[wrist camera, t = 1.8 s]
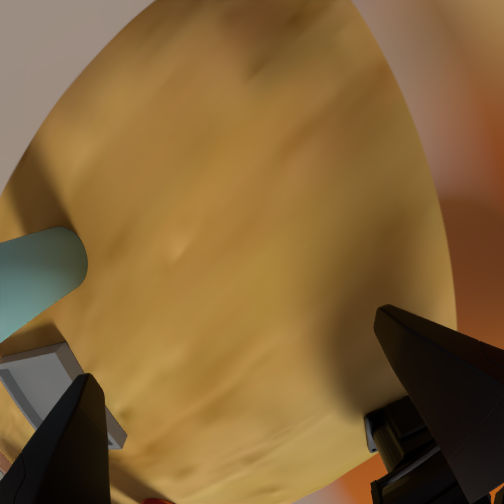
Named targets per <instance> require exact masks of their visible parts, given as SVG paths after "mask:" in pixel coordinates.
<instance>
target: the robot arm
mask: <svg viewBox="0 0 504 504" xmlns="http://www.w3.org/2000/svg"><path fill="white" fill-rule="evenodd" d="M374 332H375V335H376V337H377V339H378V341H379V343H380V345H381V347H382V349H383V351H384V353H385V355H386V357H387V359H388V361H389V363H390V365H391V367H392V369H393V370H394V372H395V374H396V375H397V377H398V379H399V380H400V382H401V383H402V385H403V387H404V388H405V390H406V391H407V393H408V395H409V396H407V397H405V398H403V399H401V400H399V401H397V402H394V403H392V404H390V405H388V406H385V407H383V408H381V409H378V410H376V411H374V412H371V413H369V414H367V415H366V416H365V418H364V419H365V426H366V434H367V441H368V449H369V451H370V453H374V452H376V451H378V452H379V454H380V456H381V458H382V460H383V463H384V465H385V467H386V469H387V471H388V474H386V475H385V476H383V477H381V478H380V479H378V480H375V481H373V482H371V483H370V484H371V489H372V490H371V494H372V500H373V504H491V495H490V494H489V492H490V491H492V490H494V489H495V488H497V487H498V486H500V485H501V484H502V483H504V350H503V349H500V348H497V347H495V346H492V345H489V344H487V343H484V342H482V341H479V340H477V339H474V338H472V337H470V336H467V335H464V334H462V333H460V332H457V331H455V330H452V329H450V328H447V327H445V326H442V325H440V324H437V323H435V322H433V321H430V320H428V319H425V318H423V317H420V316H418V315H415V314H413V313H410V312H408V311H405V310H403V309H400V308H398V307H395V306H393V305H390V304H386V305H384V306H381V307H379V308H378V309H377V311H376V316H375V322H374ZM0 504H111V497H110V483H109V459H108V431H107V422H106V410H105V397H104V392H103V390H102V388H101V387H100V385H99V384H98V382H97V381H96V379H95V378H94V376H93V375H92V374H90V373H84V374H79V375H78V376H77V377H76V378H75V379H74V381H73V382H72V383H71V385H70V386H69V387H68V388H67V390H66V391H65V392H64V394H63V395H62V396H61V398H60V399H59V400H58V401H57V403H56V404H55V405H54V407H53V408H52V409H51V411H50V412H49V414H48V415H47V416H46V418H45V419H44V420H43V422H42V423H41V424H40V426H39V427H38V429H37V430H36V431H35V433H34V434H33V436H32V437H31V438H30V440H29V441H28V443H27V444H26V445H25V447H24V448H23V450H22V453H20V454H19V456H18V457H17V458H16V460H15V461H14V463H13V464H12V466H11V467H10V468H9V470H8V471H7V472H6V474H5V475H4V476H3V478H2V479H1V480H0ZM494 504H504V486H503V487H502V488H501V489H500V490H499V491H498V492H497V493H496V495H495V500H494Z"/></svg>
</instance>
